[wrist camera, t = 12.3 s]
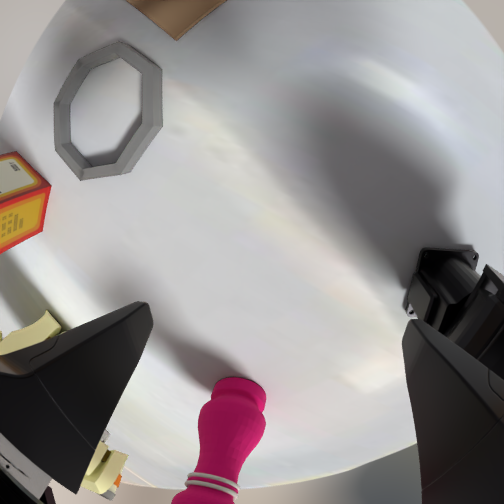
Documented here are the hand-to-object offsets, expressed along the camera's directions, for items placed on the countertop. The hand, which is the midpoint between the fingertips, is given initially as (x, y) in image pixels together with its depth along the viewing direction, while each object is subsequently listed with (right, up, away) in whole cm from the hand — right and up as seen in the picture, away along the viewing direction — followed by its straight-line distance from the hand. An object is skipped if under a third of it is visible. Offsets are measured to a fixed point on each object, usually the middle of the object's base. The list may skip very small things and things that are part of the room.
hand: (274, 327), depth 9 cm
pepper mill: (-2, -14, +21) cm, 25 cm away
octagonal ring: (-14, +15, +11) cm, 23 cm away
